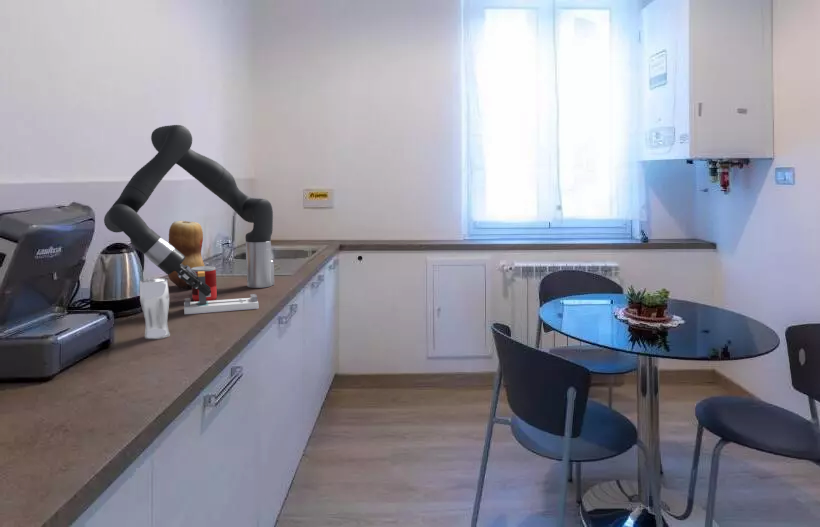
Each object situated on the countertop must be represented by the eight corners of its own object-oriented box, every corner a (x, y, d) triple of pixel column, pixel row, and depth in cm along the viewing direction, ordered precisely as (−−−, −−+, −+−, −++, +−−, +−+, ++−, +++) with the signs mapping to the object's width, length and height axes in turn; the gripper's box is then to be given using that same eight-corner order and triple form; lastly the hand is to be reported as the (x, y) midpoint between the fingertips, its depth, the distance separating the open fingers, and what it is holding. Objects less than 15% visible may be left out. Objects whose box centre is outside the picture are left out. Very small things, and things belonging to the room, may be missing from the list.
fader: (199, 304, 178) (197, 273, 177) (199, 301, 182) (197, 271, 181) (206, 303, 179) (204, 273, 178) (205, 301, 183) (204, 271, 181)
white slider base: (184, 314, 175) (183, 303, 175) (184, 308, 183) (183, 297, 182) (258, 308, 183) (258, 297, 183) (255, 303, 191) (255, 293, 190)
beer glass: (161, 331, 156) (158, 276, 154) (177, 335, 152) (174, 279, 150) (137, 337, 150) (133, 280, 148) (152, 341, 147) (148, 283, 144)
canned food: (221, 298, 198) (220, 266, 197) (206, 303, 191) (204, 270, 189) (203, 296, 201) (201, 265, 199) (187, 301, 193) (185, 269, 192)
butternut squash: (205, 289, 213) (202, 222, 209) (166, 291, 209) (162, 222, 205) (206, 283, 226) (203, 219, 222) (169, 284, 222) (165, 220, 218)
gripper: (173, 249, 169) (218, 287, 175) (174, 244, 182) (216, 279, 188) (154, 268, 168) (201, 306, 174) (156, 261, 181) (200, 296, 187)
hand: (208, 292), depth 181 cm, fingers closed on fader, 4 cm apart
